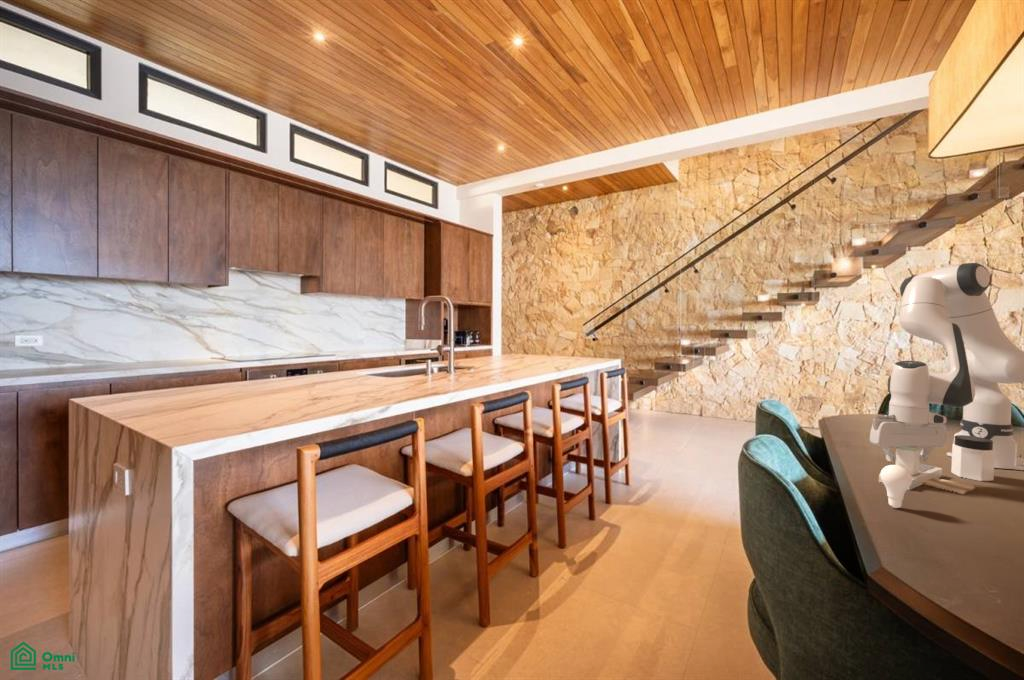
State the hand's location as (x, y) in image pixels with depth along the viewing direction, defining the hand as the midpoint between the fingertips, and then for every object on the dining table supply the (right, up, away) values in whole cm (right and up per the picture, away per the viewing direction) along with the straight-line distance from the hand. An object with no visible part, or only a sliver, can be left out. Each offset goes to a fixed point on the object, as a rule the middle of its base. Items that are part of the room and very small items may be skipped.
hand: (906, 461), depth 129 cm
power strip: (+5, -6, +3) cm, 8 cm away
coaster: (+8, -6, -4) cm, 11 cm away
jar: (+24, -6, +4) cm, 25 cm away
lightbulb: (-21, -7, -20) cm, 29 cm away
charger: (0, -3, 0) cm, 3 cm away
